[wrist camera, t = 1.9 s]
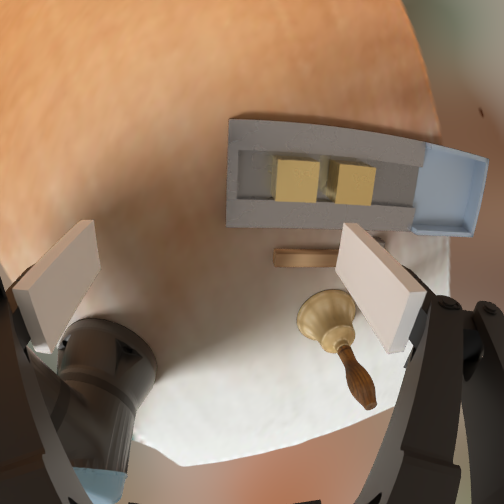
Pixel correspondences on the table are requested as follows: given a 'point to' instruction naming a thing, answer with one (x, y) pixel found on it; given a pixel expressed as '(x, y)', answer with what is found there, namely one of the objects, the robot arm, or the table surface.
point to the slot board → (321, 149)
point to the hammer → (308, 257)
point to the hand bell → (337, 337)
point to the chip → (350, 182)
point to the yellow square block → (294, 179)
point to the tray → (448, 192)
